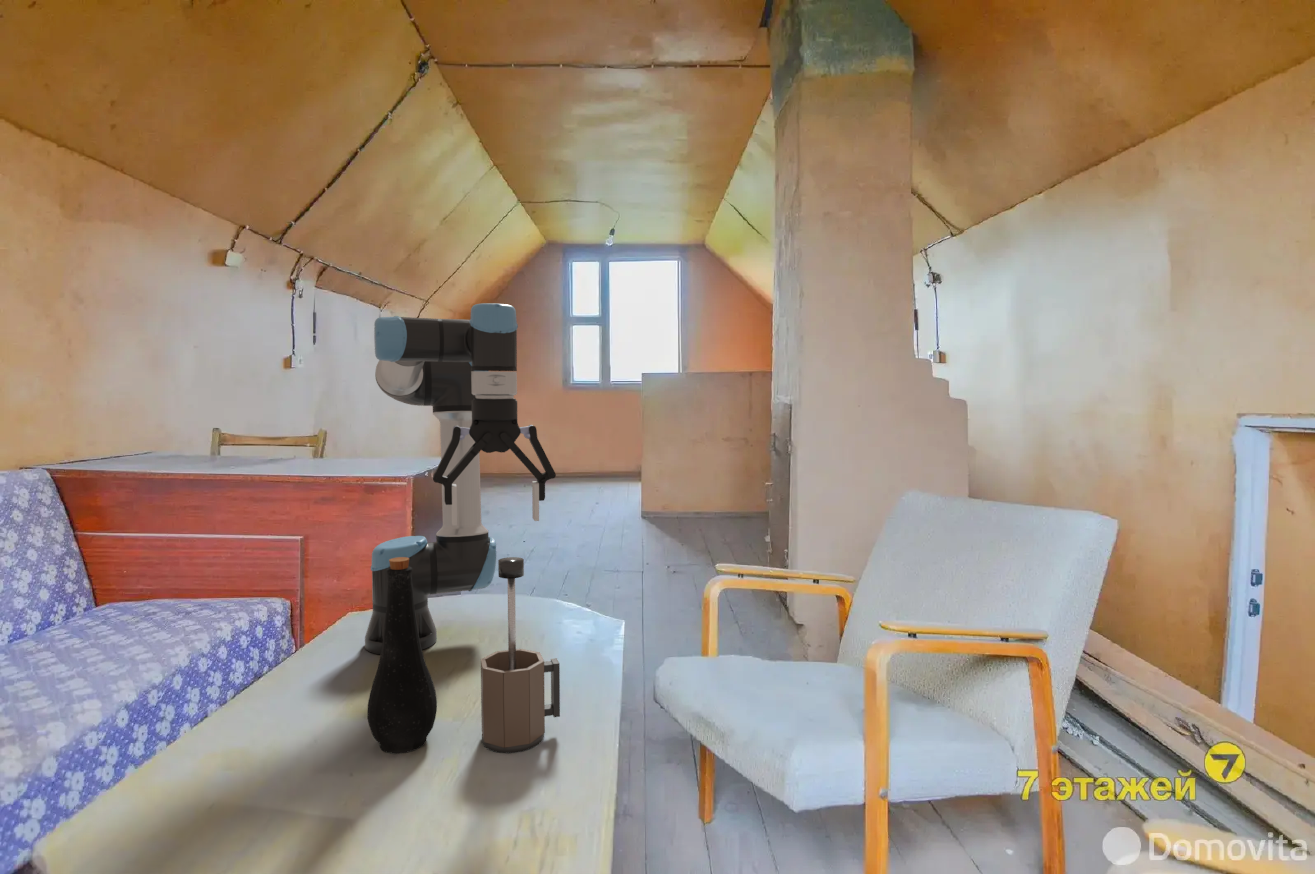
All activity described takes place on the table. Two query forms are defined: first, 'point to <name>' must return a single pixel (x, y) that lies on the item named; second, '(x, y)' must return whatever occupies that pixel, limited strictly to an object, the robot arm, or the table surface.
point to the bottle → (401, 672)
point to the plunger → (511, 600)
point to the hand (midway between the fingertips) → (495, 521)
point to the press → (516, 700)
